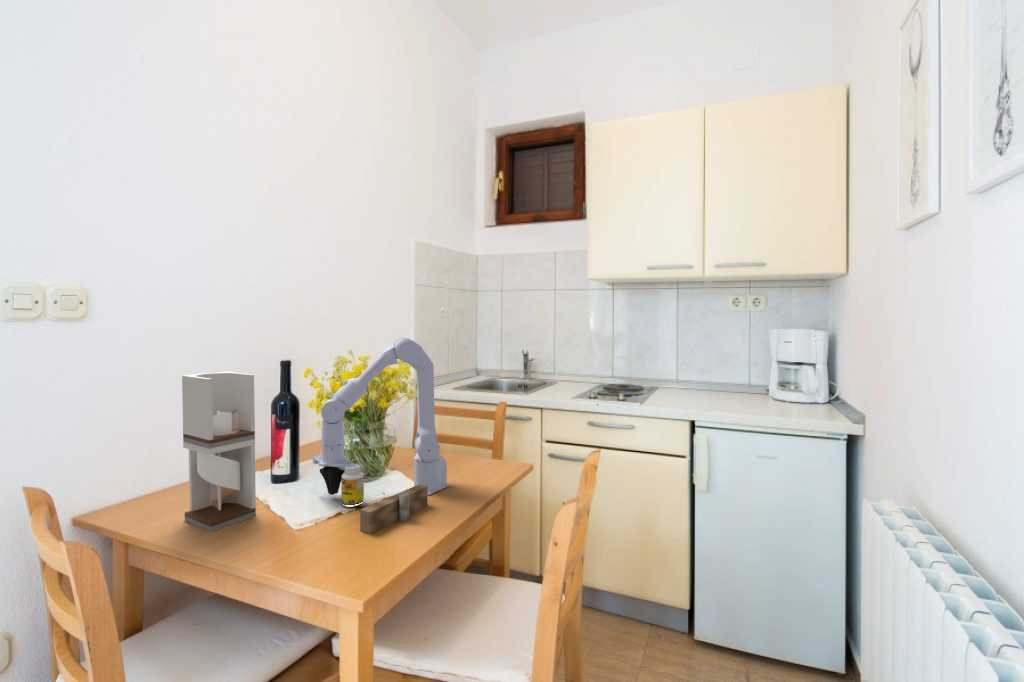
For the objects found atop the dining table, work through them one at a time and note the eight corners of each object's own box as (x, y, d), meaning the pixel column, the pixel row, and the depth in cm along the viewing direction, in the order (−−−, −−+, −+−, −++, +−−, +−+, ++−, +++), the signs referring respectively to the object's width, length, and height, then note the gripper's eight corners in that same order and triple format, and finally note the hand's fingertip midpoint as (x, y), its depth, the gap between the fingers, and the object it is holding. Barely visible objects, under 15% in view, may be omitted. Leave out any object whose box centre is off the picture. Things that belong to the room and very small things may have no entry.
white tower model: (184, 520, 114) (182, 375, 113) (229, 506, 123) (227, 371, 122) (210, 532, 108) (208, 379, 107) (255, 515, 118) (254, 374, 116)
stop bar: (418, 502, 127) (418, 480, 127) (434, 507, 124) (434, 484, 124) (360, 530, 110) (360, 505, 110) (377, 536, 107) (377, 510, 107)
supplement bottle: (336, 505, 125) (336, 467, 124) (353, 498, 129) (353, 461, 129) (351, 510, 122) (351, 470, 121) (368, 503, 127) (368, 465, 126)
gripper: (302, 443, 129) (303, 492, 130) (339, 451, 122) (339, 503, 122) (324, 437, 135) (325, 485, 136) (360, 445, 128) (360, 495, 128)
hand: (333, 493), depth 129 cm, fingers closed
